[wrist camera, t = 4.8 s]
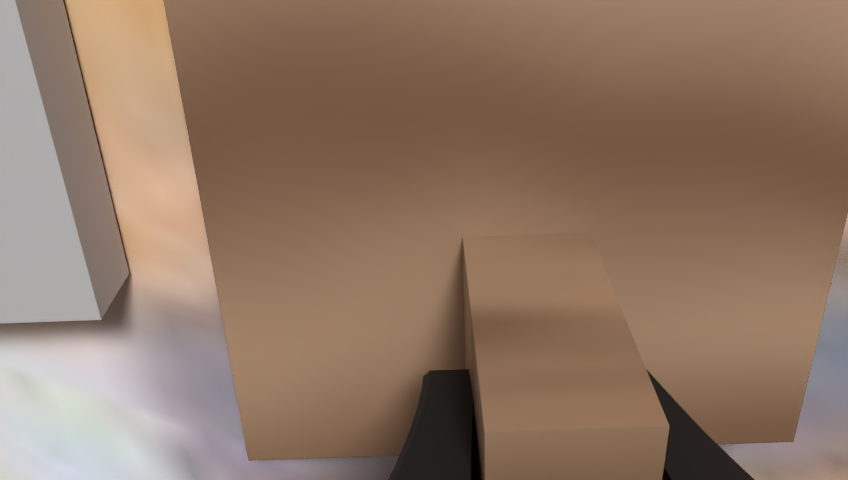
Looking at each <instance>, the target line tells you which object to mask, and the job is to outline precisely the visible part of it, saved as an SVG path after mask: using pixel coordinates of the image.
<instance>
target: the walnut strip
mask: <svg viewBox="0 0 848 480" xmlns="http://www.w3.org/2000/svg"><path fill="white" fill-rule="evenodd" d="M164 5H165V10H166V16H167V21H168V26H169V32H170V37H171V43H172V48H173V54H174V59H175V64H176V70H177V75H178V81H179V86H180V92H181V97H182V102H183V108H184V113H185V119H186V124H187V130H188V135H189V140H190V146H191V151H192V157H193V162H194V168H195V173H196V178H197V184H198V189H199V195H200V200H201V206H202V211H203V216H204V222H205V227H206V233H207V238H208V244H209V249H210V254H211V260H212V265H213V271H214V276H215V282H216V287H217V292H218V298H219V303H220V309H221V314H222V320H223V325H224V330H225V336H226V341H227V347H228V352H229V358H230V363H231V368H232V374H233V379H234V385H235V390H236V396H237V401H238V406H239V412H240V417H241V423H242V428H243V434H244V439H245V444H246V450H247V455H248V461H252V460H281V459H310V458H339V457H368V456H397V455H400V453H401V451H402V448H403V446H404V443H405V441H406V438H407V436H408V433H409V431H410V428H411V425H412V422H413V419H414V416H415V413H416V410H417V406H418V403H419V399H420V394H421V390H422V382H423V376H424V375H425V374H427V373H428V372H429V371H430V370H461V369H469V373H470V379H471V386H472V394H473V443H474V480H662V477H663V470H664V463H665V456H666V448H667V441H668V434H669V427H670V426H669V423H668V421H667V419H666V416H665V414H664V411H663V409H662V406H661V404H660V402H659V399H658V397H657V394H656V392H655V389H654V387H653V385H652V382H651V380H650V377H649V375H648V372H647V370H648V371H649V372H650V373H651V374H652V376H653V377H654V378H655V379H656V380H657V381H658V382H659V383H660V384H661V385H662V387H663V388H664V389H665V390H666V391H667V392H668V393H669V394H670V395H671V396H672V397H673V399H674V400H675V401H676V402H677V403H678V404H679V405H680V406H681V407H682V408H683V409H684V410H685V411H686V413H687V414H688V415H689V416H690V417H691V418H692V419H693V420H694V421H695V422H696V423H697V424H698V425H699V426H700V427H701V428H702V429H703V430H704V431H705V432H706V433H707V434H708V435H709V436H710V437H711V438H712V439H713V440H714V441H715V442H716V443H717V444H744V443H773V442H793V441H794V437H795V433H796V428H797V424H798V420H799V416H800V412H801V407H802V403H803V399H804V395H805V391H806V386H807V382H808V378H809V374H810V369H811V365H812V361H813V357H814V353H815V348H816V344H817V340H818V336H819V332H820V327H821V323H822V319H823V315H824V311H825V306H826V302H827V298H828V294H829V289H830V285H831V281H832V277H833V273H834V268H835V264H836V260H837V256H838V252H839V247H840V243H841V239H842V235H843V231H844V226H845V222H846V218H847V214H848V0H164ZM646 369H647V370H646Z"/></svg>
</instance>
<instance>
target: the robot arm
mask: <svg viewBox="0 0 848 480" xmlns="http://www.w3.org/2000/svg"><path fill="white" fill-rule="evenodd" d="M646 370H647V369H646ZM647 372H648V375H649V377H650V380H651V382H652V385H653V387H654V389H655V392H656V394H657V397H658V399H659V402H660V404H661V406H662V409H663V411H664V414H665V416H666V419H667V421H668V423H669V426H670V427H669V434H668V441H667V448H666V456H665V463H664V470H663V477H662V480H754V479H753V478H752V477H751V476H750V475H749V474H748V473H747V472H746V471H745V470H743V469H742V468H741V467H740V466H739V465H738V464H737V463H736V462H735V461H734V460H733V459H732V458H731V457H730V456H729V455H728V454H727V453H726V452H725V451H724V450H723V449H722V448H721V447H720V446H719V445H718V444H717V443H716V442H715V441H714V440H713V439H712V438H711V437H710V436H709V435H708V434H707V433H706V432H705V431H704V430H703V429H702V428H701V427H700V426H699V425H698V424H697V423H696V422H695V421H694V420H693V419H692V418H691V417H690V416H689V415H688V414H687V413H686V411H685V410H684V409H683V408H682V407H681V406H680V405H679V404H678V403H677V402H676V401H675V400H674V399H673V397H672V396H671V395H670V394H669V393H668V392H667V391H666V390H665V389H664V388H663V387H662V385H661V384H660V383H659V382H658V381H657V380H656V379H655V378H654V377H653V376H652V374H651V373H650V372H649V371H648V370H647ZM389 480H474V443H473V394H472V386H471V379H470V373H469V369H461V370H430V371H429V372H428V373H427V374H425V375H424V376H423V382H422V390H421V394H420V399H419V403H418V406H417V410H416V413H415V416H414V419H413V422H412V425H411V428H410V431H409V433H408V436H407V438H406V441H405V443H404V446H403V448H402V451H401V453H400V456H399V458H398V461H397V463H396V465H395V468H394V470H393V472H392V474H391V476H390V478H389Z"/></svg>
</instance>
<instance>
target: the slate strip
mask: <svg viewBox="0 0 848 480" xmlns="http://www.w3.org/2000/svg"><path fill="white" fill-rule="evenodd" d="M128 275H129V270H128V266H127V262H126V258H125V254H124V250H123V246H122V241H121V237H120V233H119V229H118V225H117V221H116V217H115V212H114V208H113V204H112V200H111V196H110V192H109V188H108V184H107V179H106V175H105V171H104V167H103V163H102V159H101V155H100V150H99V146H98V142H97V138H96V134H95V130H94V126H93V122H92V117H91V113H90V109H89V105H88V101H87V97H86V93H85V88H84V84H83V80H82V76H81V72H80V68H79V64H78V60H77V55H76V51H75V47H74V43H73V39H72V35H71V31H70V26H69V22H68V18H67V14H66V10H65V6H64V2H63V0H0V323H27V322H55V321H83V320H101V319H102V318H103V316H104V314H105V313H106V311H107V309H108V308H109V306H110V305H111V303H112V301H113V300H114V298H115V296H116V295H117V293H118V291H119V290H120V288H121V286H122V285H123V283H124V281H125V280H126V278H127V277H128Z"/></svg>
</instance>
